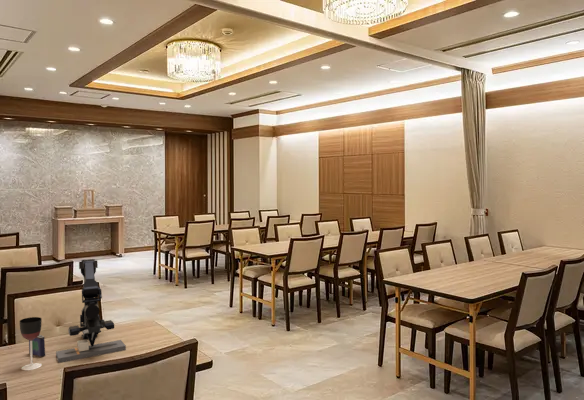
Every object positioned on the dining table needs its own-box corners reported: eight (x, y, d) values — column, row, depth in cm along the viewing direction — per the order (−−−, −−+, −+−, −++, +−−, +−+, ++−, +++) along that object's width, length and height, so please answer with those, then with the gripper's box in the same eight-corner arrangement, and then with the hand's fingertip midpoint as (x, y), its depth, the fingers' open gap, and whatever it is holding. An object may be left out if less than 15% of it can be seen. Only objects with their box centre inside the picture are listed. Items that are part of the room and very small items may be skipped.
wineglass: (26, 372, 186) (25, 324, 185) (17, 367, 191) (15, 320, 191) (46, 366, 192) (45, 319, 192) (36, 361, 198) (35, 316, 197)
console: (56, 355, 204) (56, 351, 204) (120, 343, 219) (120, 339, 219) (58, 363, 196) (58, 358, 195) (125, 349, 211) (125, 345, 211)
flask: (27, 354, 206) (27, 331, 206) (33, 352, 208) (33, 329, 208) (41, 357, 202) (41, 334, 202) (47, 355, 205) (47, 332, 204)
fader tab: (77, 348, 206) (77, 341, 206) (87, 347, 208) (86, 339, 208) (79, 351, 202) (78, 343, 202) (88, 350, 205) (88, 342, 204)
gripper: (71, 320, 195) (72, 356, 196) (116, 313, 205) (117, 347, 206) (67, 314, 204) (68, 348, 205) (111, 307, 215) (112, 340, 215)
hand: (92, 346), depth 207 cm, fingers closed
